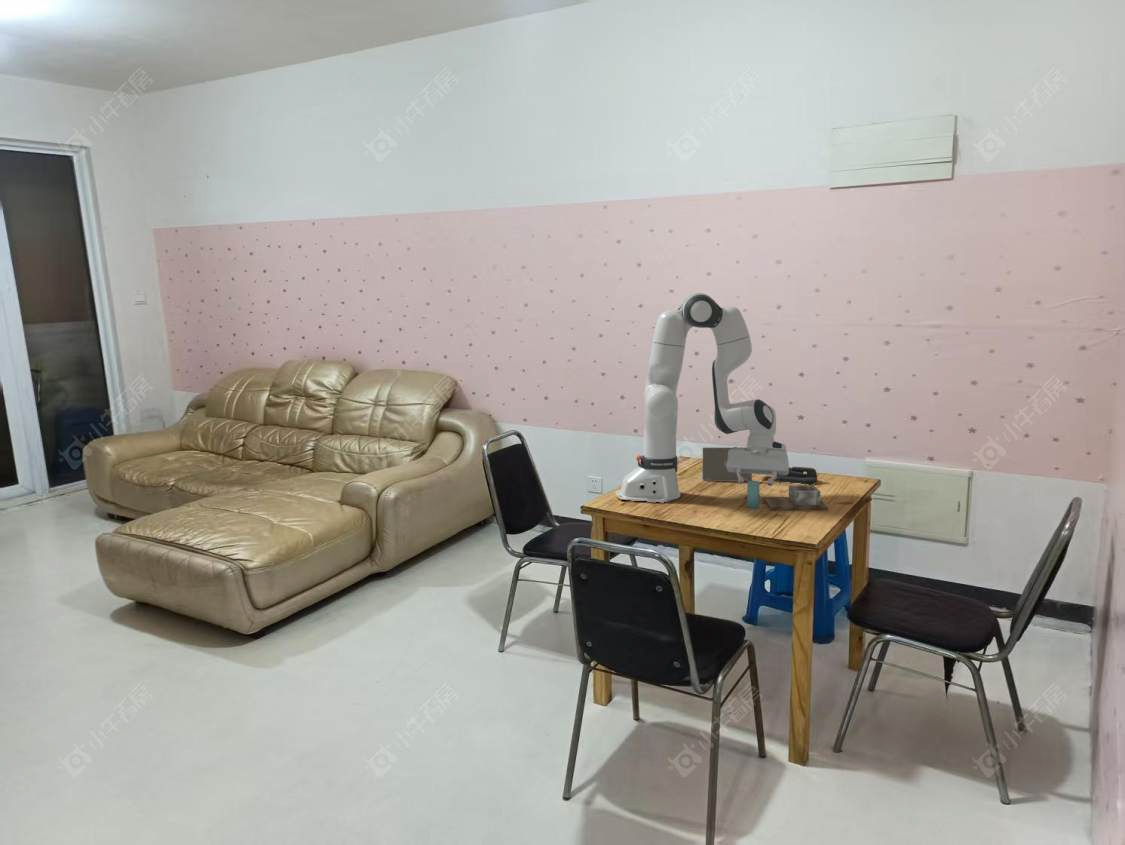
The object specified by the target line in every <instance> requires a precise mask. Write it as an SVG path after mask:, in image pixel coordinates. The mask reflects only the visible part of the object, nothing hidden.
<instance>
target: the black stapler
mask: <svg viewBox="0 0 1125 845" xmlns="http://www.w3.org/2000/svg"><path fill="white" fill-rule="evenodd" d="M775 480H776V482H777V481H778V483H782V482H791V483H790V484H792V483H801V484H814V483H816V482H817V483H818V474H817V469H815V468H813V467H807V466H806V467H803V466H792V467H790V466H789V474H788V475H786V476H781V475H777V478H776V479H775ZM775 480H774V481H775ZM817 483H816V484H817ZM801 484H800V485H801ZM814 485H815V484H814Z"/></svg>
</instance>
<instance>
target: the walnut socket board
mask: <svg viewBox="0 0 1125 845" xmlns="http://www.w3.org/2000/svg"><path fill="white" fill-rule="evenodd" d="M762 502H764V504H765V505H766V507H767V508H769V510H770V511H773V512H774V511H775V512H777V511H778V512H781V511H782V512H783V511H793V512H795V511H798V512H799V511H829V506H828V505H827V504H826V503H825V502H824V501H822V499H821V491H820V489H818V488H817V487H816V486H815V484H814V485H801V484H794V485H793V484H792V485H788V496H763V497H762Z"/></svg>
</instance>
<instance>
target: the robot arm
mask: <svg viewBox="0 0 1125 845" xmlns="http://www.w3.org/2000/svg"><path fill="white" fill-rule="evenodd" d="M693 327H695V328H698V329H699V328H700V329H704V328H705V329H706V328H707V329H710V330H711V332H712V333H713V336H714V340H715V345H716V350H717V352H716V353H717V354H716V357H715V359H714V360H713V361H712V363H711V364H712V366H711V377H712V378H711V379H712V390H713V402H714V403H713V404H714V425H715V426H716V428H717V429H718V430H719V431H721V432H722V433H723V434H725V435H729V434H734V433H737V432H743V431H749V436H748V438H747V441H746V447H742V446H741V447H737V446H733V447H730V448H731V449H729V451H728V460H727V464H726V467H727V470H728V471H729V472H735V473H737V476H738V478H739V479H738V481H737V483H738V484H744V482H745V481H744V479H743V477H741V476H740V475H741V473H750V474H752V475H767V476H768V475H770V476H771V478H767V486H772V487H773V484H774V482H775V479H776V478H777V475H781V476H786V475H788V474H789V467H790V465H789V456H788V453H787V452H788V451H787V447H786V445H785V444H784V443H782V442H778V441H776V440H775V439H774V438H775V435H776V432H777V431H776V430H777V415H776V414H777V413H776V411H775V409H774V408H773V407H772V406H771V405H769V404H767V403H766V402H765V401H763V400H762V399H751V400H745V401H739V402H735V403H734V402H733V403H731V402H730V399H729V398H730V397H729V390H728V389H729V388H728V386H729V385H728V378H729V376H730V374H731V373H733V372H734V370H737V369H738V368H740V367H741V366H743V364H745V363H746V362H747V361H748V360H749V358H750V357H751V355H752V351H753V347H752V342H751V336H750V333H749V330H748V326H747V324H746V321H745V319H744V317H743V314H742V312H741V311H740V310H739V309H738V308H737V307H734V306H724V307H721V306H720V305H719V304H718V303H717V302H716V301H715V300H714V299H713V298H712V297H711V296H709V295H708V294H706V293H702V292H699V293H698V292H697V293H694V294H691V295H689V296H688V297H687V298H686V299H685V300H684V301H683V302H682V304H681V305H680V306H679V307H678V309H677V310H672V309H671V310H667V311H663V312H661V313H660V314H659V316H658V319H657V321H656V325H655V326H654V331H653V335H652V336H653V337H652V342H651V350H650V356H649V363H648V367H647V368H648V369H647V373H646V379H645V385H644V391H643V396H642V399H643V400H642V401H643V405H644V422H643V423H644V425H643V426H644V427H643V455H641V454H637V455H636V457H635V459H636V461H637V467H635V468H634V469H632V470H631V471H630V472H628V473H627V474H625V476H624V477H623V480H622V483H621V487H620V488H621V489H620V488H619V489H620V490H618V489H617V490H616V491H615V494H616V495H617V496H618V497H619V496H622V497H619V498H621V499H627V500H635V501H647V502H646V503H656V502H660V503H661V504H665V503H667V502H669V501H675V500H677V499H679V498H680V497H681V493H680V492H681V491H680V489H679V482H678V476H677V474H678V473H677V472H678V468H679V465H678V462H679V461H678V460H679V459H678V455H677V430H678V428H677V427H678V415H679V414H678V411H679V400H678V396H677V391H678V390H677V389H678V386H679V382H680V381H679V380H680V376H681V373H682V368H683V362H684V355H685V351H686V350H685V349H686V343H687V337H688V333H689V331H690V330H691V329H692V328H693ZM617 492H618V493H617ZM664 502H665V503H664ZM660 503H659V504H660Z"/></svg>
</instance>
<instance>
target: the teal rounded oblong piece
mask: <svg viewBox="0 0 1125 845" xmlns="http://www.w3.org/2000/svg"><path fill="white" fill-rule="evenodd" d="M760 483H761V482H760V481H758V480H751V481H747V489H746V490H747V491H746V493H747V494H746V508H747V509H749V510H750V509H751V510H758V509H760Z"/></svg>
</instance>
